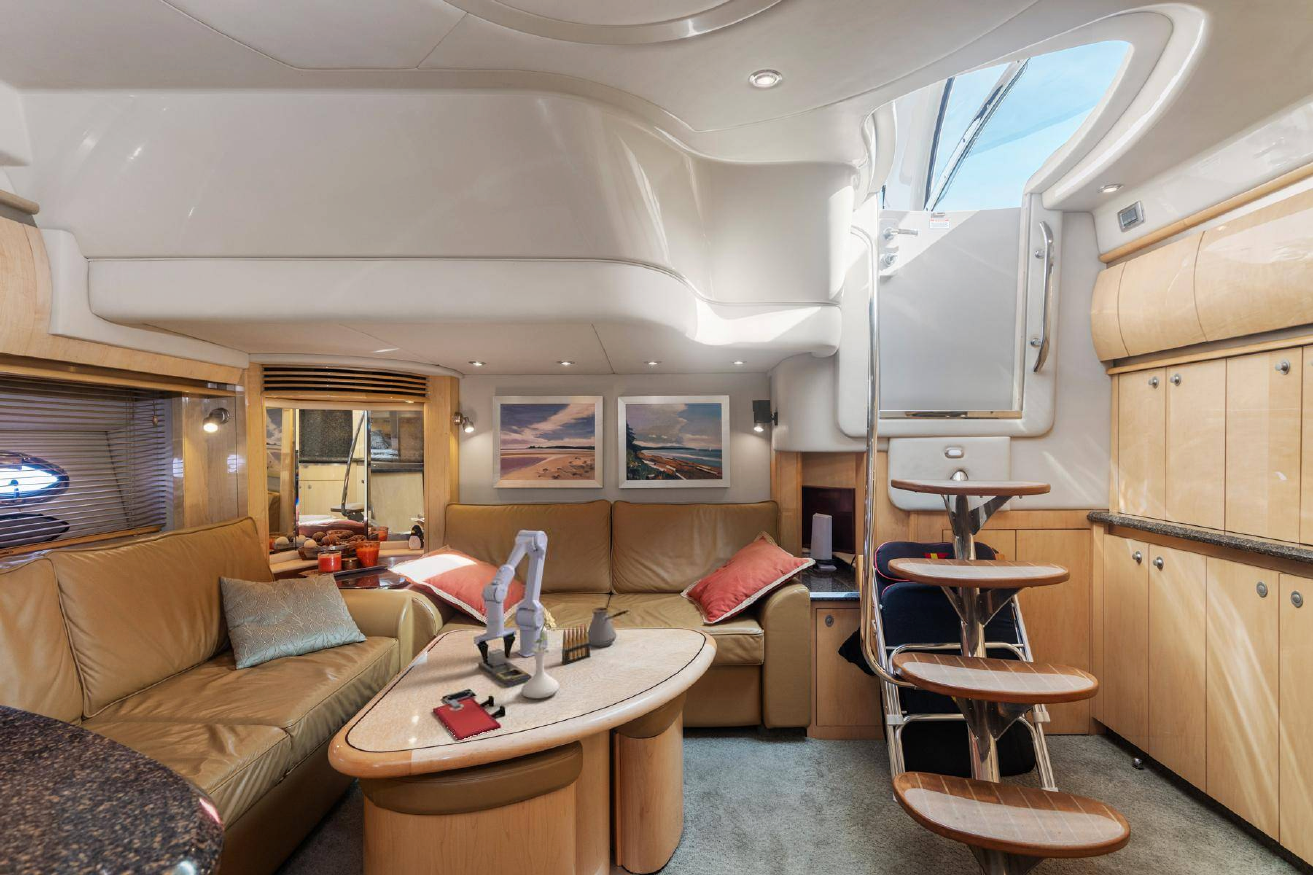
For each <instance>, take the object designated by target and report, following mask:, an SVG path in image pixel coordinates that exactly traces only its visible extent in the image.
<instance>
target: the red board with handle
mask: <svg viewBox="0 0 1313 875" xmlns="http://www.w3.org/2000/svg"><path fill="white" fill-rule="evenodd" d="M477 696H478V695H477V694H476V693H475V692H474V691H473V690H471V689H470V688H468V689H464V690H461V691H457V692H453V693H450V694H447V695H442V696H441V697H442V699H443V700H444V701H445V702H446V704H444V705H441V706H437V707H433V708H432V712H433V713H434V715H435V714H436V715H435V716H436V717H437V716H438V717H437V718H438V719H439V720H440V722H441V721H442V722H443V723H444V724H445V725H444V724H443V723H442V722H441V723H442V724H443V725H444V727H445V728H447V727H448V729H449V730H450V731H451V732H452V733H453V734H452V733H451V732H450V731H449V730H448V729H447V730H448V731H449V732H450V733H451V734H452V736H453V735H455V737H456V738H457V739H458V740H461V739H464V738H468V737H470V736H473V735H477V736H479V735H478V734H480V733H482V732H487V731H490V730H493V731H496V730H498V728H499V729H501V728H502V725H501V724H500V723H499V721H497V720H496V719H495V718H497V717H499V716H500V717H502V718H503V717H506V707H505V706H504V705H499V707H498V708H499V709H498V710H496V711H495V712H493V713H491V714H490V713H489V712H488V711H487V710H486V709H485V707H487V706H489V707H490V708H492V707H495V697H494V696H493V695H492V694H491V695H488V696H487V697H488V699H487V700H485V701H484V702H482V703H479V702H478V701H477V700H476V699H474V697H477ZM495 729H496V730H495ZM490 732H491V731H490ZM487 733H488V732H487ZM455 737H454V738H455ZM456 738H455V739H456ZM457 739H456V740H457ZM468 739H469V738H468ZM458 740H457V741H458Z"/></svg>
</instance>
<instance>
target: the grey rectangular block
mask: <svg viewBox="0 0 1313 875" xmlns="http://www.w3.org/2000/svg"><path fill="white" fill-rule="evenodd" d="M504 659H505V653H504V650H503V649H501V648H495V649H493V650H488V662H489V667H490V668H496V667H500V666H503V665H505V661H504Z"/></svg>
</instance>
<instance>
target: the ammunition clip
mask: <svg viewBox="0 0 1313 875" xmlns="http://www.w3.org/2000/svg"><path fill="white" fill-rule="evenodd" d="M583 626H584V627H583ZM579 627H580V628H579ZM562 636H563V637H562V649H561V664H562V665H564V666H568V665H571V664H574V663H576V662H580V661H583V660H585V659H588V658H591V653H590V652H591V650H590V643H589V642H588V626H587V623H586V622H585V623H584V625H583V624H581V625H580V626H579V625H576V628H575V627H574V626H572V629H571V628H570V627H568V628H567V630H566V628H564V629H563V633H562Z"/></svg>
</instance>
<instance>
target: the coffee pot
mask: <svg viewBox="0 0 1313 875" xmlns="http://www.w3.org/2000/svg"><path fill="white" fill-rule="evenodd" d="M609 611H610V609H609V608H608V607H605V606H603V607H595V608H592V610H591V612H592V613H593V617H592V620H591V622H590V626H589V627H588V629H587V631H588V643H589V645H591V646H592V647H596V648H603V647H605V648H606V647H609V646H612V643H613V642H614V641H615V640H616V639H617V632H616V629H615V628H614V626H613V624H612V621H611V619H614V618H616V617H620V616H622V615H626V616H627V617H630V616H631V614H632V612H631V611H630V610H629V609H625V610H622V611H619V612H617V613H615V614H613V615H608V614H609ZM628 612H629V613H630V614H629V615H628V614H627V613H628Z"/></svg>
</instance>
